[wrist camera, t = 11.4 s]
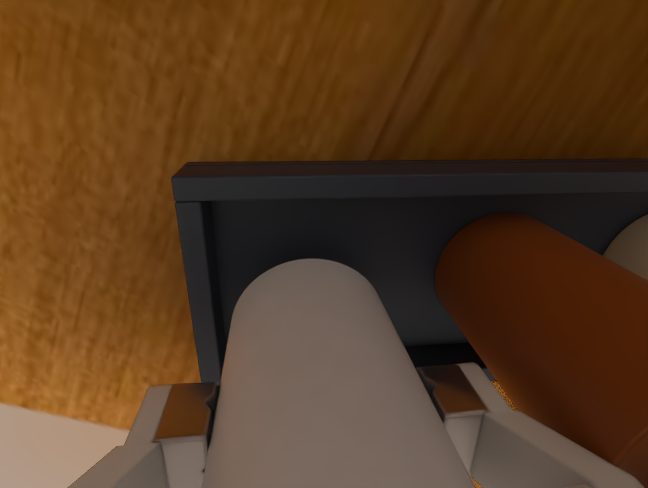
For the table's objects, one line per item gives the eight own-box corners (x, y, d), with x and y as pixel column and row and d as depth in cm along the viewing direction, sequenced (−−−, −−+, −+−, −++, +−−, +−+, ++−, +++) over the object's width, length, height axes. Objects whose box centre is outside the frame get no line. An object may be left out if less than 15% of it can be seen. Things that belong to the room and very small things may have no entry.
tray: (186, 161, 12) (170, 177, 10) (778, 156, 14) (852, 168, 12) (212, 364, 15) (203, 403, 13) (693, 333, 17) (741, 363, 16)
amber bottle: (443, 212, 13) (737, 454, 5) (567, 209, 14) (1034, 424, 5) (426, 324, 15) (617, 641, 7) (536, 318, 15) (845, 606, 7)
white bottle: (225, 260, 11) (108, 680, 3) (388, 254, 11) (627, 598, 4) (236, 392, 13) (180, 863, 5) (377, 381, 13) (523, 788, 6)
